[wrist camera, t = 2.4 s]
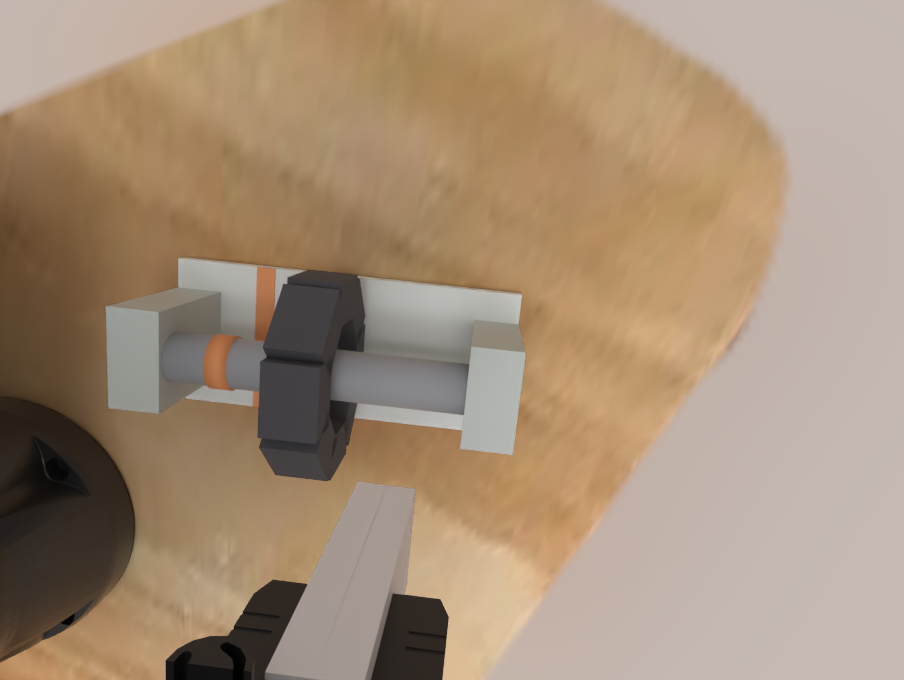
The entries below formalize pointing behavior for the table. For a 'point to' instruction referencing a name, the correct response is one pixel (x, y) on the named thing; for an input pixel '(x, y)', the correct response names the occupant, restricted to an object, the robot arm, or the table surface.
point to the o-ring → (308, 374)
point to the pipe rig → (353, 373)
